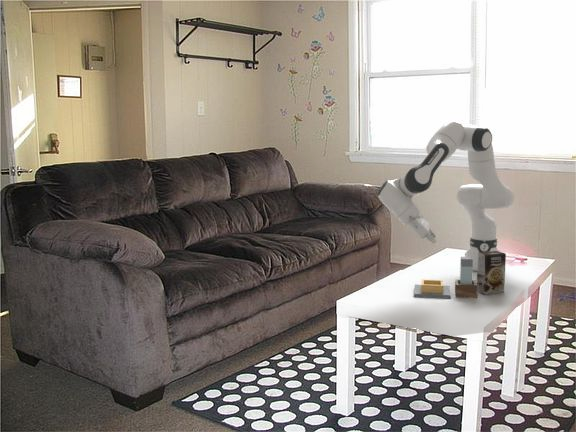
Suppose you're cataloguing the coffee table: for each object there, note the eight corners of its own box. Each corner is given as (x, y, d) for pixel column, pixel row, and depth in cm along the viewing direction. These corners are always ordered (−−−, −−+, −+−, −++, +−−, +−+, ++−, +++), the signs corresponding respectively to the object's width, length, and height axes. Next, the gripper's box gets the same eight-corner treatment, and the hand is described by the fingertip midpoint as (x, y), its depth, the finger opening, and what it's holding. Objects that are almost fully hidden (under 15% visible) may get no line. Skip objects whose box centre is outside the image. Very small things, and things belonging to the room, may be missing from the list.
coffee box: (485, 294, 252) (486, 255, 249) (476, 290, 258) (477, 251, 256) (505, 292, 254) (506, 253, 252) (495, 288, 261) (497, 250, 258)
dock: (414, 287, 264) (415, 277, 264) (449, 288, 261) (449, 278, 261) (414, 296, 251) (414, 286, 250) (450, 298, 248) (450, 287, 247)
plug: (459, 293, 255) (460, 256, 253) (471, 293, 254) (472, 256, 252) (460, 296, 251) (461, 259, 248) (471, 296, 250) (472, 259, 248)
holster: (454, 291, 257) (455, 279, 256) (475, 292, 255) (475, 280, 255) (455, 297, 249) (456, 284, 249) (476, 298, 248) (477, 285, 247)
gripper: (415, 213, 241) (441, 239, 241) (416, 206, 261) (440, 229, 261) (403, 225, 243) (428, 250, 243) (405, 216, 263) (429, 240, 262)
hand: (434, 239), depth 252 cm, fingers open, 8 cm apart
